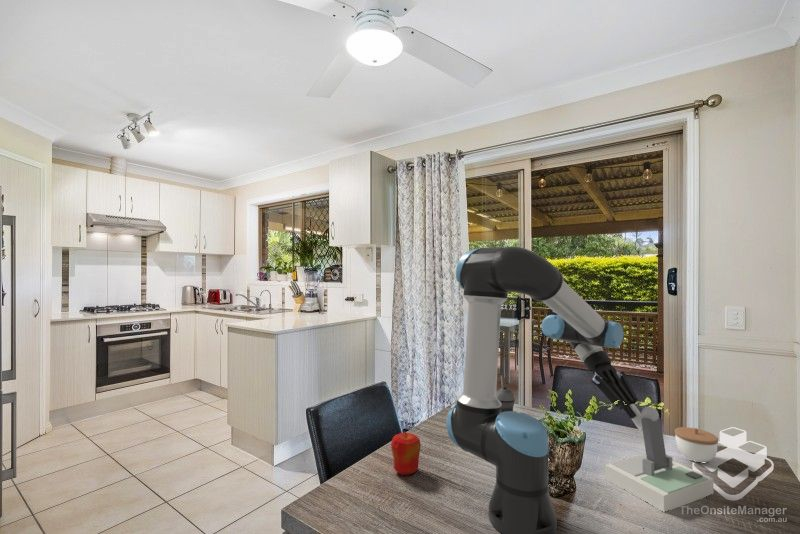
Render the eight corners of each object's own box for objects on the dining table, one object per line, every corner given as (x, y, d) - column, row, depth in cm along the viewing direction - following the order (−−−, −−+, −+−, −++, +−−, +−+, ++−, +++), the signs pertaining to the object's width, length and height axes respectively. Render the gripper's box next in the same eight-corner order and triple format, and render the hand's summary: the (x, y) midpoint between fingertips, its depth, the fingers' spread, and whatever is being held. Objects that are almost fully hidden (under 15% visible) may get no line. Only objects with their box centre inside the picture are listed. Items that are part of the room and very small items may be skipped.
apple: (397, 482, 105) (397, 439, 105) (386, 467, 113) (387, 427, 113) (425, 476, 108) (425, 434, 109) (413, 462, 116) (413, 423, 116)
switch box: (605, 479, 107) (605, 452, 107) (652, 465, 115) (652, 440, 115) (663, 512, 92) (663, 480, 92) (713, 494, 100) (713, 464, 100)
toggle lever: (644, 468, 104) (635, 406, 107) (656, 464, 106) (647, 404, 109) (659, 473, 101) (649, 409, 103) (671, 469, 102) (662, 406, 105)
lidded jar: (678, 447, 127) (678, 419, 127) (720, 458, 119) (720, 428, 119) (671, 458, 119) (671, 428, 119) (715, 471, 111) (715, 439, 112)
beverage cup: (517, 434, 136) (517, 378, 137) (497, 434, 136) (496, 378, 137) (511, 426, 144) (511, 373, 144) (492, 426, 144) (492, 373, 144)
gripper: (585, 351, 117) (638, 426, 102) (614, 347, 123) (669, 418, 107) (571, 364, 122) (620, 437, 107) (600, 360, 127) (650, 429, 112)
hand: (644, 428), depth 107 cm, fingers closed
